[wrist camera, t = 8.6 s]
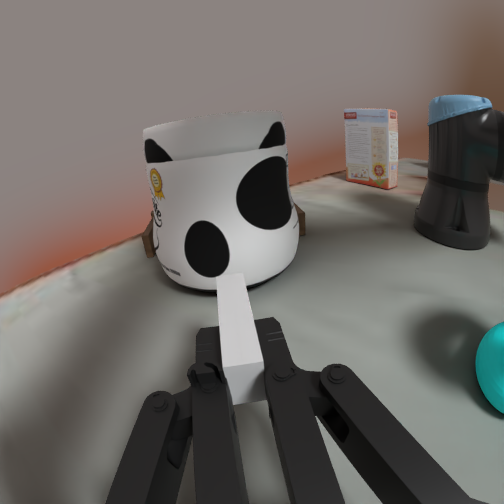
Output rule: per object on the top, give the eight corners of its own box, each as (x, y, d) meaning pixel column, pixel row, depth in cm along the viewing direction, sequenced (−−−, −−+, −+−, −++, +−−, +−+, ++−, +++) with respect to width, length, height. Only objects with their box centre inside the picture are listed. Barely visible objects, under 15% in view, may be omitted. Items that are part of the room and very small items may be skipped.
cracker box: (397, 187, 65) (398, 110, 55) (387, 190, 62) (387, 108, 52) (357, 178, 75) (355, 109, 66) (345, 181, 72) (342, 107, 63)
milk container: (145, 267, 36) (117, 138, 28) (242, 228, 46) (230, 119, 38) (209, 331, 24) (169, 118, 16) (328, 261, 33) (326, 110, 25)
